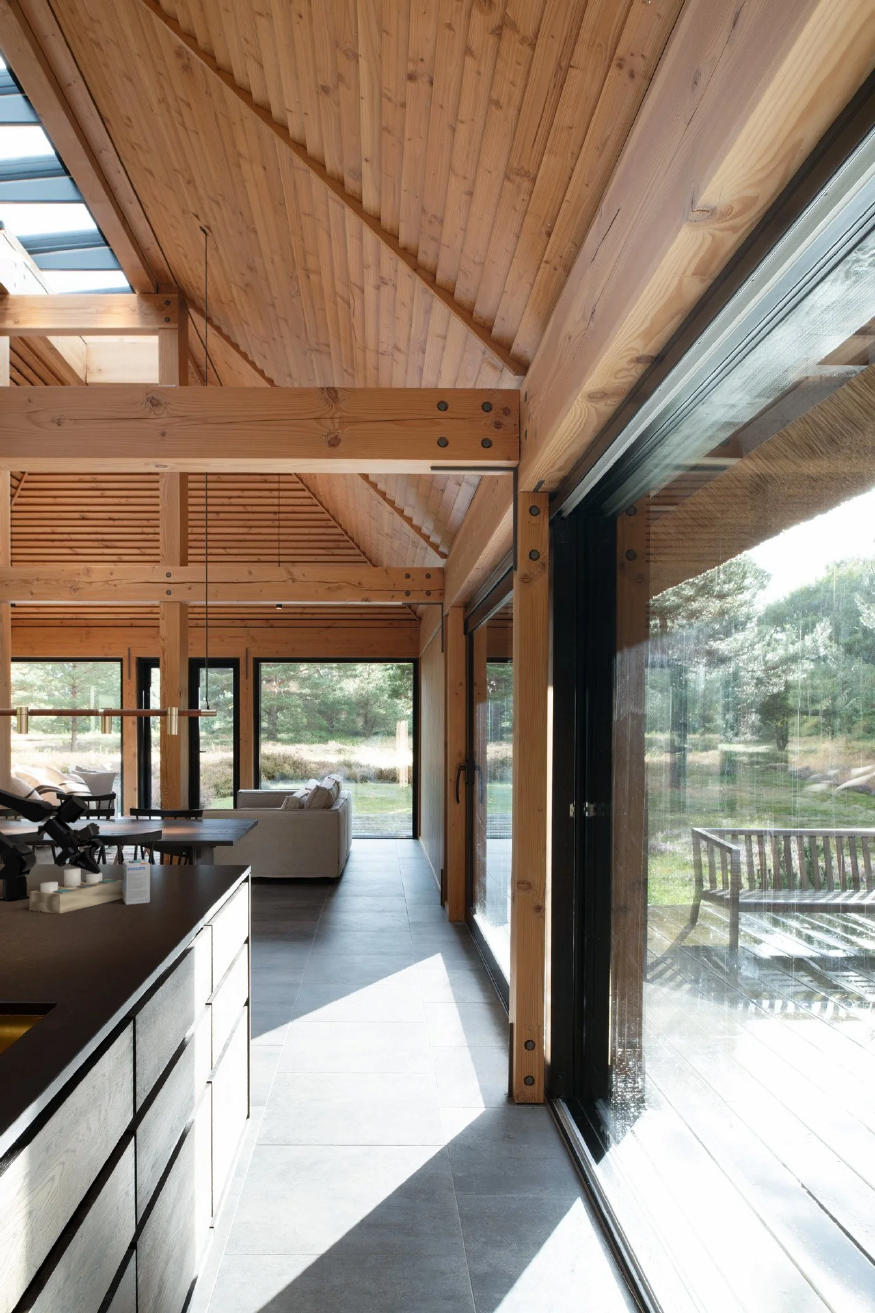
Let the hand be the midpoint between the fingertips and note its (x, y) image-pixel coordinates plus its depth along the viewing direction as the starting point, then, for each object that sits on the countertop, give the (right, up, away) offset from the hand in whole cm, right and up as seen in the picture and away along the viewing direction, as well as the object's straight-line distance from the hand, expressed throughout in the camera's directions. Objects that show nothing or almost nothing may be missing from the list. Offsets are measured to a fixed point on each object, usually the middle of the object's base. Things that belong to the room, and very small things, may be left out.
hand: (99, 873), depth 268 cm
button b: (-5, -4, -7) cm, 10 cm away
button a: (-8, -6, -15) cm, 18 cm away
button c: (-1, -7, 0) cm, 7 cm away
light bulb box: (+12, -7, -5) cm, 15 cm away
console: (-3, -7, -8) cm, 11 cm away
